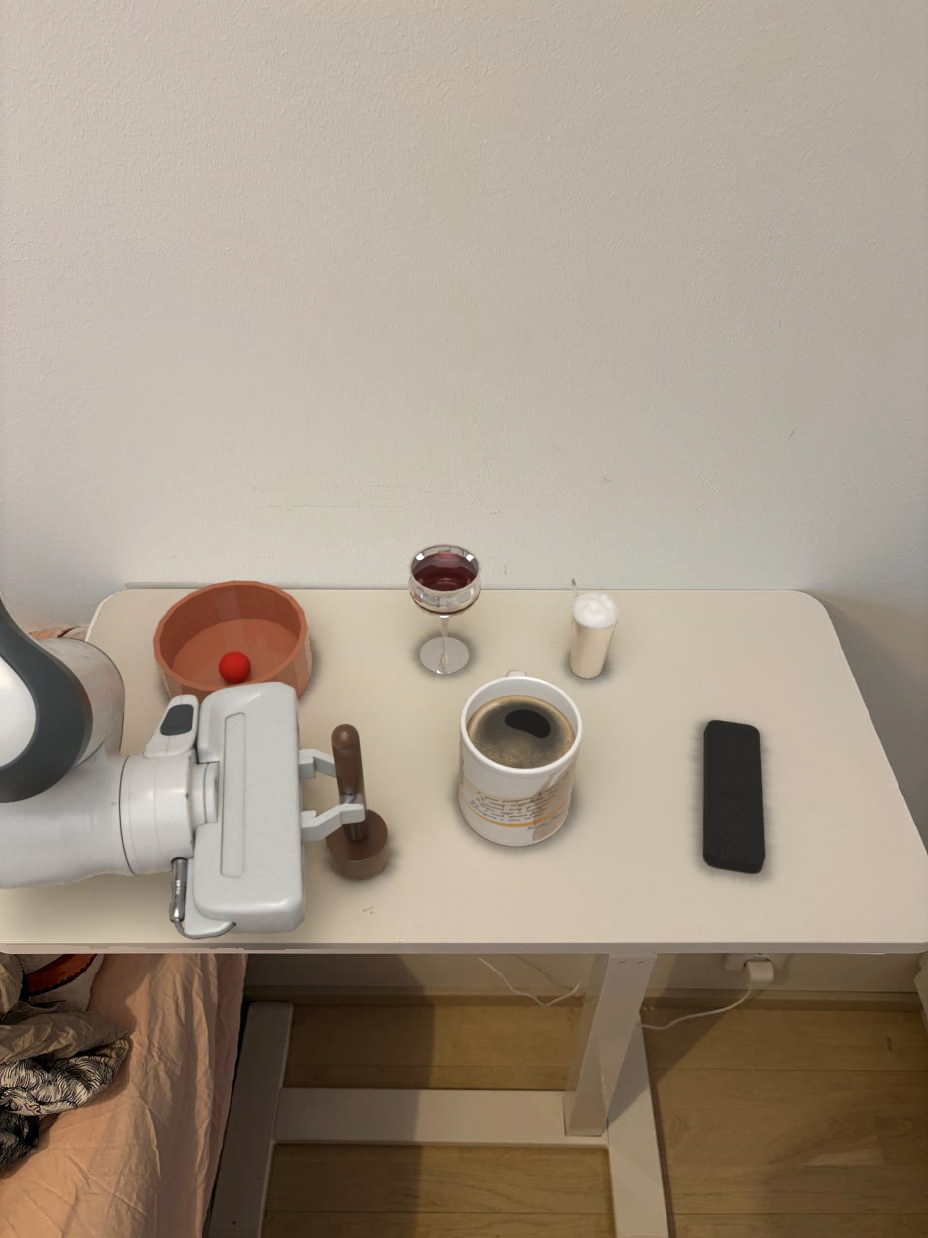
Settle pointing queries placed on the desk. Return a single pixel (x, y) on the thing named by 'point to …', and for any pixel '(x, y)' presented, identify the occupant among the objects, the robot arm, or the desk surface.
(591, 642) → the milkshake
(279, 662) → the bowl
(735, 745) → the remote control
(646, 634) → the desk surface
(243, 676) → the tomato
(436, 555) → the wineglass
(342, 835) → the brown plunger
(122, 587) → the desk surface
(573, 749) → the mug
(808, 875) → the desk surface
